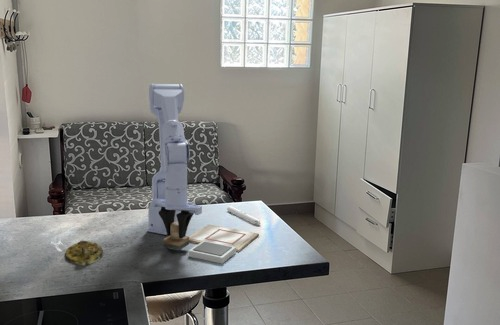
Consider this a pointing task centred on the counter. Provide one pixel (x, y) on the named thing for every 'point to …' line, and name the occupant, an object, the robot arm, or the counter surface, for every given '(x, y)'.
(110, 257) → the counter surface
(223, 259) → the ink pad
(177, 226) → the stamp
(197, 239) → the wooden board
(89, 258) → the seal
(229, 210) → the marker
